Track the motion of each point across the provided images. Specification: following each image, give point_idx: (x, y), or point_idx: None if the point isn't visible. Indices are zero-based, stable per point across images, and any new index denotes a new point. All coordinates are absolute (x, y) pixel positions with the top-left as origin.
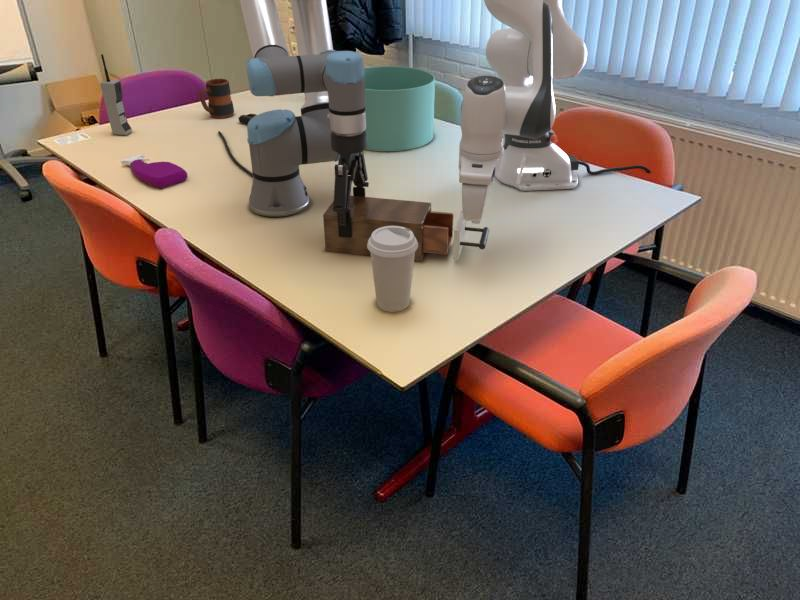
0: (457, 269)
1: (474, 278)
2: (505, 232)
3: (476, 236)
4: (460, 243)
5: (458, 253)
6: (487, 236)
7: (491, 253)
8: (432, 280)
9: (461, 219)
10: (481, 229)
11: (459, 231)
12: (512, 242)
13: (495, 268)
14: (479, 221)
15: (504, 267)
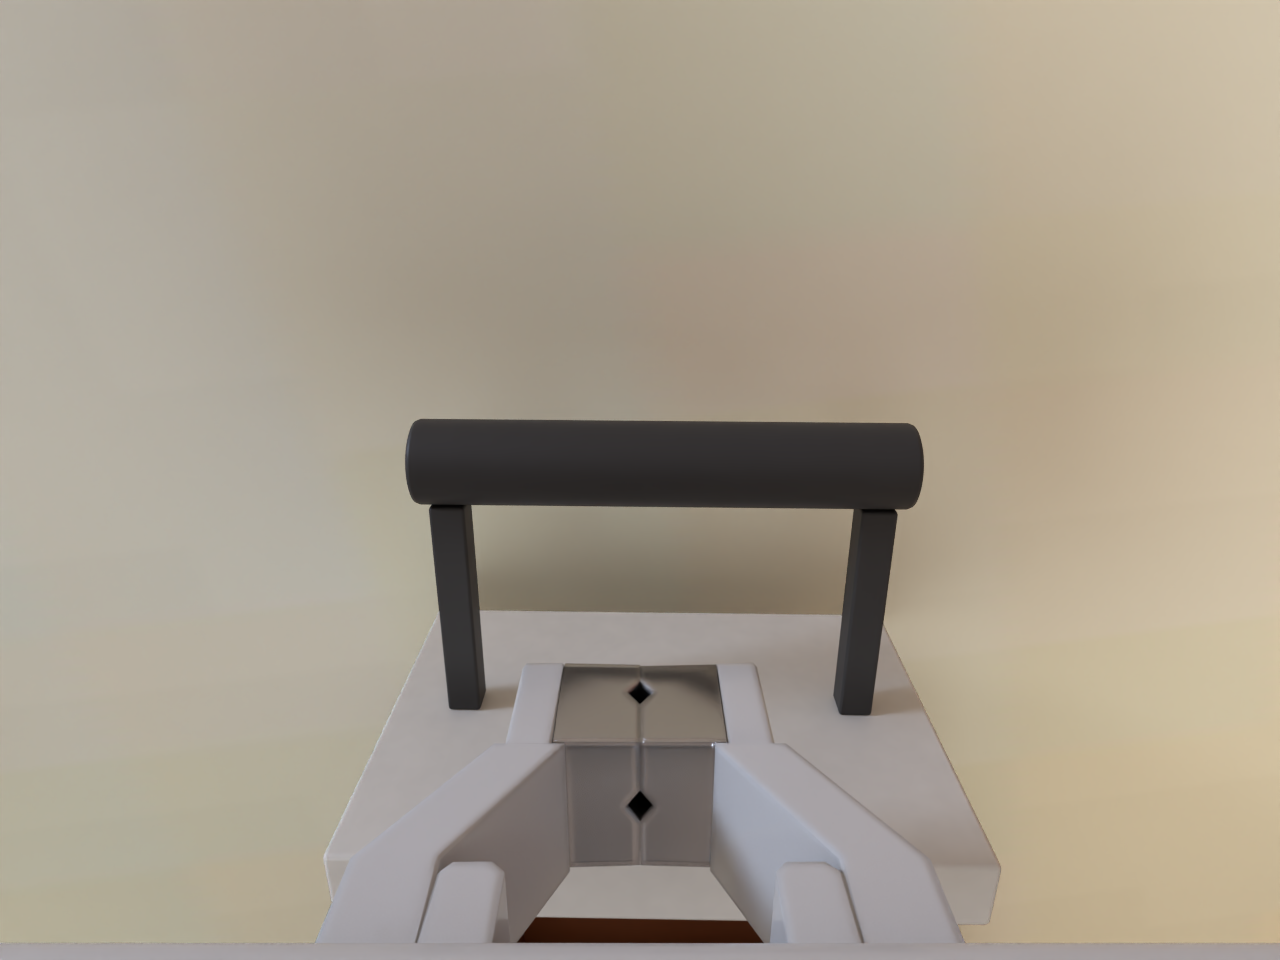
0: (953, 581)
1: (1114, 419)
2: (33, 197)
3: (261, 494)
4: (867, 704)
5: (896, 655)
6: (638, 430)
7: (580, 308)
8: (1151, 737)
9: (626, 886)
10: (460, 525)
11: (996, 863)
12: (247, 86)
13: (899, 232)
14: (759, 685)
15: (866, 132)
